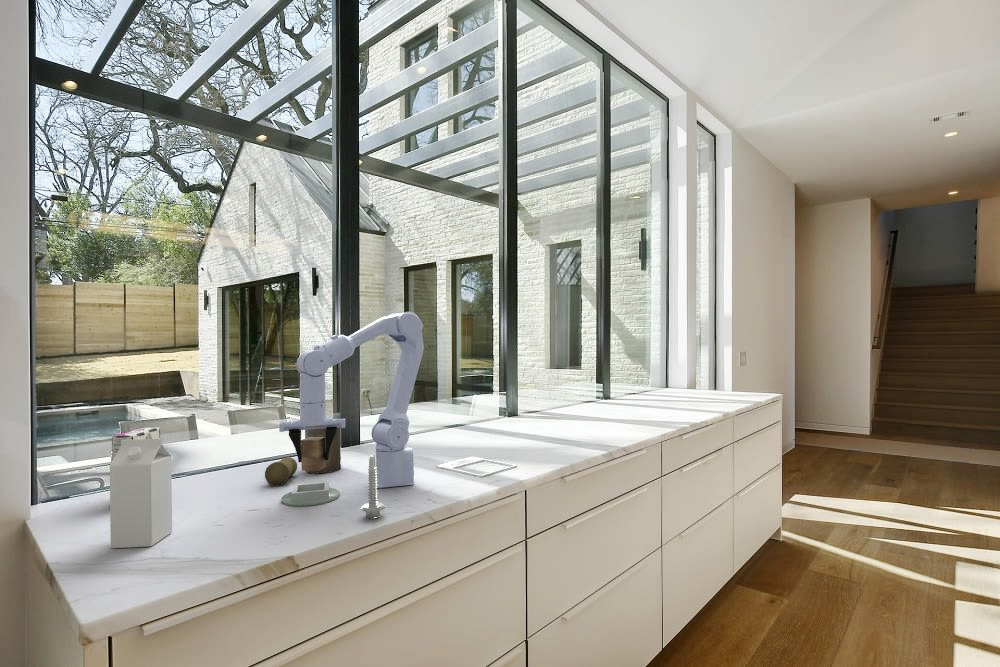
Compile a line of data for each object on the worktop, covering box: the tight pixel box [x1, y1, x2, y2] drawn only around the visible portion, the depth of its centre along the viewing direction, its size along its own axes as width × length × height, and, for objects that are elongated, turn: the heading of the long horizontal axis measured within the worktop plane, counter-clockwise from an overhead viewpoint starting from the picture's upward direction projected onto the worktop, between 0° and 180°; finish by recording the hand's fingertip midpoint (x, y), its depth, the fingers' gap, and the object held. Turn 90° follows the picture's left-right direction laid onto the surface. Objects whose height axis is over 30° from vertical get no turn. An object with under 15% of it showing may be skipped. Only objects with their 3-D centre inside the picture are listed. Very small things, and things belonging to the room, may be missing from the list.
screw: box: [360, 454, 386, 519], centre depth 111 cm, size 13×5×5 cm
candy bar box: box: [111, 426, 161, 462], centre depth 126 cm, size 11×5×16 cm, turn 4°
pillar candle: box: [304, 425, 342, 474], centre depth 153 cm, size 10×10×15 cm
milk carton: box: [109, 438, 173, 549], centre depth 100 cm, size 7×7×19 cm
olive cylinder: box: [264, 456, 298, 487], centre depth 142 cm, size 6×6×11 cm
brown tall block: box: [300, 437, 326, 472], centre depth 125 cm, size 4×4×7 cm
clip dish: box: [280, 481, 341, 507], centre depth 126 cm, size 13×13×2 cm
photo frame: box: [436, 456, 518, 478], centre depth 153 cm, size 15×1×18 cm
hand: (313, 460), depth 125 cm, fingers closed on brown tall block, 5 cm apart
